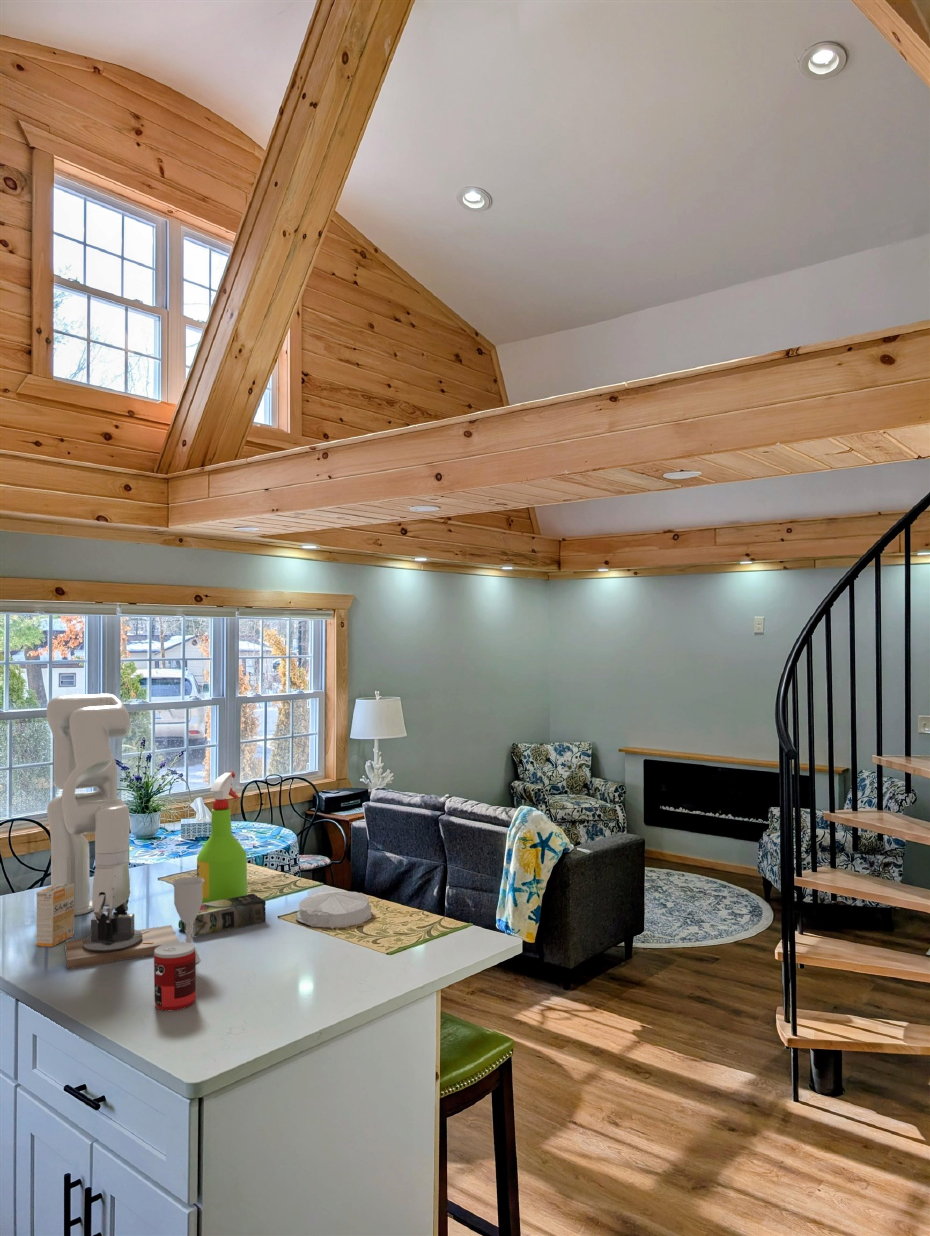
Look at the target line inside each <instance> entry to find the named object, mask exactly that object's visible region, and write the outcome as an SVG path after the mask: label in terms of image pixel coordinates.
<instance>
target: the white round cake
mask: <svg viewBox="0 0 930 1236" xmlns="http://www.w3.org/2000/svg"><path fill="white" fill-rule="evenodd" d="M298 909H299V910H298V911H297V912H296V914H295V919H296V920H297V921H298V922H300V923H303V924H305V925H308V926H311V927H312V928H315V927H316V928H331V929H334V928H347V927H351V926H355V925H359V924H360V925H361V924H363V923H365V922H367V921H368V920H370V919H371V918H372V917H373V915H372V904H370V899H369V898H368V897H367V896H366V895H365V894H363V893H360V892H357V891H345V890H343V891H342V890H332V891H323V892H318V893H314V894H311V895H309V896H306V897H304V898H303V899H301V900H300V901H299V902H298Z"/></svg>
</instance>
